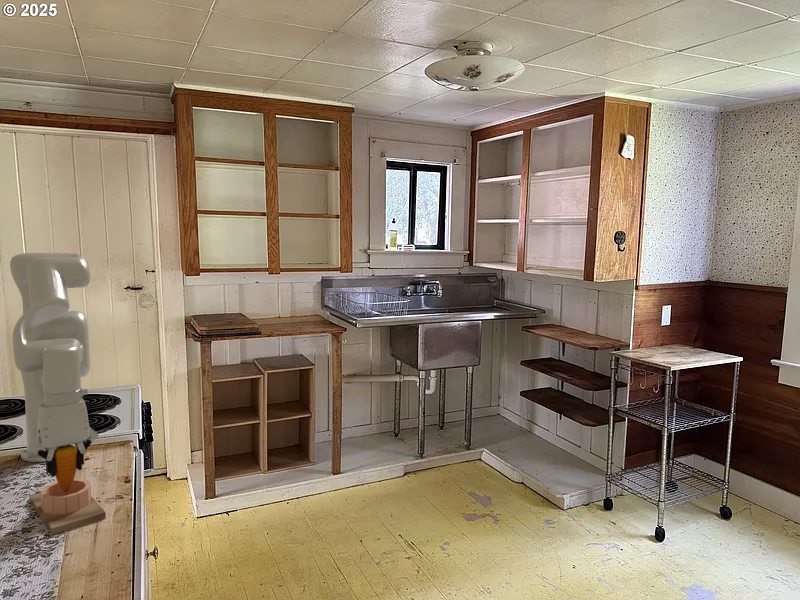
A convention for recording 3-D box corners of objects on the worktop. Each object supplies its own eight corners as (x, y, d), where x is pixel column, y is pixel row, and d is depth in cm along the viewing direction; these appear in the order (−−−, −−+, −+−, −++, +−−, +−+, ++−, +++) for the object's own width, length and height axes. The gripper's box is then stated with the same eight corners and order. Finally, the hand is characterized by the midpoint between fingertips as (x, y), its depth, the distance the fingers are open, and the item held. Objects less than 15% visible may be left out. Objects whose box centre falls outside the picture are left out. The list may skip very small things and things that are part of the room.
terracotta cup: (37, 503, 133) (36, 487, 133) (83, 490, 140) (82, 475, 140) (48, 519, 126) (47, 502, 126) (96, 504, 133) (95, 489, 133)
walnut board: (29, 502, 136) (29, 496, 136) (79, 488, 144) (79, 483, 144) (51, 534, 122) (51, 528, 122) (105, 518, 130) (105, 512, 130)
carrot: (67, 498, 130) (64, 436, 128) (49, 495, 131) (46, 434, 129) (83, 488, 135) (81, 429, 133) (65, 486, 136) (63, 427, 134)
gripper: (97, 387, 139) (99, 457, 141) (15, 400, 127) (19, 476, 129) (107, 394, 133) (109, 466, 136) (23, 408, 121) (27, 487, 123)
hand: (65, 470), depth 132 cm, fingers closed on carrot, 4 cm apart
